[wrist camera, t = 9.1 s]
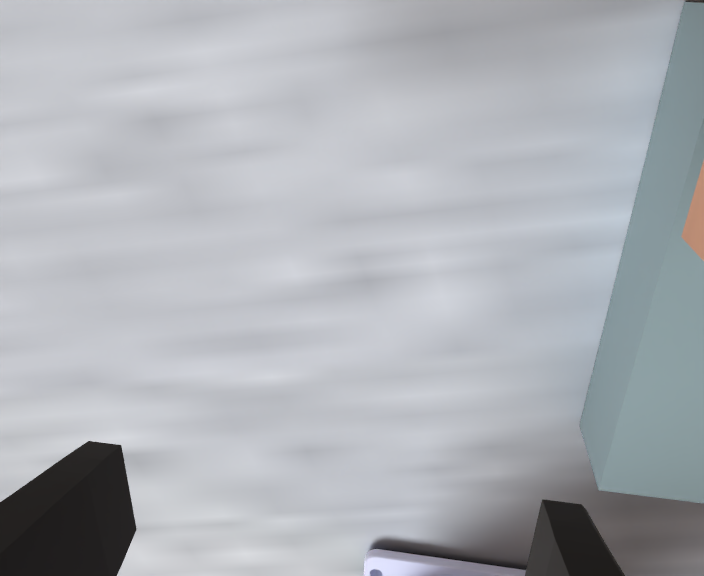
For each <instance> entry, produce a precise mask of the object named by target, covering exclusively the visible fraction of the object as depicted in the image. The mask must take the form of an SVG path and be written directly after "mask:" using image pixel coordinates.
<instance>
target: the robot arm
mask: <svg viewBox="0 0 704 576" xmlns="http://www.w3.org/2000/svg"><path fill="white" fill-rule="evenodd" d="M135 531H136V525H135V519H134V514H133V508H132V502H131V497H130V491H129V486H128V480H127V475H126V469H125V464H124V458H123V453H122V447H121V445H115V444H107V443H99V442H92V441H88V442H87V443H85V444H84V445H82V446H81V447H79V448H78V449H76V450H75V451H73V452H72V453H70V454H69V455H67V456H66V457H64V458H63V459H62V460H60V461H59V462H57V463H56V464H54V465H53V466H52V467H50V468H49V469H47V470H46V471H44V472H43V473H42V474H40V475H39V476H37V477H36V478H35V479H33V480H32V481H30V482H29V483H27V484H26V485H25V486H23V487H22V488H20V489H19V490H18V491H16V492H15V493H13V494H12V495H10V496H9V497H7V498H6V499H4V500H3V501H2V502H0V576H117V574H118V571H119V569H120V567H121V565H122V563H123V560H124V558H125V555H126V553H127V551H128V548H129V546H130V543H131V541H132V539H133V536H134V534H135ZM375 569H377V570H375ZM364 576H625V575H624V573H623V572H622V570H621V568H620V567H619V565H618V564H617V562H616V560H615V559H614V557H613V555H612V554H611V552H610V550H609V549H608V547H607V545H606V544H605V542H604V540H603V538H602V537H601V535H600V533H599V531H598V530H597V528H596V526H595V525H594V523H593V521H592V519H591V518H590V516H589V514H588V512H587V511H586V509H585V508H584V507H583V506H582V505H581V504H573V503H565V502H558V501H550V500H542V503H541V507H540V512H539V516H538V520H537V525H536V529H535V533H534V538H533V542H532V547H531V551H530V555H529V560H528V564H527V568H526V570H521V569H514V568H507V567H500V566H493V565H486V564H479V563H472V562H465V561H458V560H451V559H444V558H437V557H430V556H423V555H416V554H409V553H402V552H395V551H388V550H381V549H373V550H370V551H368V552H367V553H366V556H365V562H364Z"/></svg>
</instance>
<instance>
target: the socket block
mask: <svg viewBox="0 0 704 576" xmlns="http://www.w3.org/2000/svg"><path fill="white" fill-rule="evenodd" d="M703 160H704V3H702V2H684V5H683V9H682V13H681V17H680V22H679V26H678V30H677V34H676V38H675V42H674V46H673V50H672V54H671V58H670V62H669V66H668V70H667V74H666V78H665V82H664V86H663V90H662V94H661V98H660V102H659V106H658V110H657V114H656V119H655V123H654V127H653V131H652V135H651V139H650V143H649V147H648V151H647V155H646V159H645V163H644V167H643V171H642V175H641V179H640V183H639V187H638V191H637V195H636V199H635V203H634V207H633V211H632V216H631V220H630V224H629V228H628V232H627V236H626V240H625V244H624V248H623V252H622V256H621V260H620V264H619V268H618V272H617V276H616V280H615V284H614V288H613V292H612V296H611V300H610V304H609V308H608V313H607V317H606V321H605V325H604V329H603V333H602V337H601V341H600V345H599V349H598V353H597V357H596V361H595V365H594V369H593V373H592V377H591V381H590V385H589V389H588V393H587V397H586V401H585V405H584V410H583V414H582V418H581V422H580V429H581V432H582V435H583V439H584V442H585V446H586V449H587V453H588V456H589V459H590V463H591V466H592V470H593V473H594V477H595V480H596V484H597V487H598V490H600V491H608V492H616V493H624V494H632V495H640V496H648V497H656V498H664V499H672V500H680V501H688V502H696V503H704V261H703V260H702V259H701V258H700V257H699V256H698V255H697V253H696V252H695V251H694V250H693V249H692V248H691V247H690V246H689V245H688V244H687V243H686V242H685V240H684V239H683V238H682V237H681V236H682V233H683V229H684V226H685V222H686V219H687V215H688V212H689V209H690V205H691V202H692V198H693V195H694V191H695V188H696V185H697V181H698V178H699V174H700V171H701V167H702V164H703Z"/></svg>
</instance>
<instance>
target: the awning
mask: <svg viewBox="0 0 704 576" xmlns="http://www.w3.org/2000/svg"><path fill="white" fill-rule="evenodd" d="M681 237H682V238H683V239H684V240H685V242H686V243H687V244H688V245H689V246H690V247H691V248H692V249H693V250H694V251H695V252H696V253H697V255H698V256H699V257H700V258H701V259H702V260H703V261H704V160H703V164H702V167H701V171H700V174H699V178H698V181H697V185H696V188H695V191H694V195H693V198H692V202H691V205H690V209H689V212H688V215H687V219H686V222H685V226H684V229H683V233H682V236H681Z"/></svg>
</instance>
